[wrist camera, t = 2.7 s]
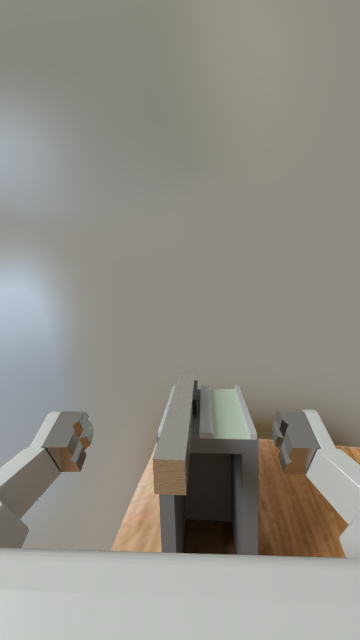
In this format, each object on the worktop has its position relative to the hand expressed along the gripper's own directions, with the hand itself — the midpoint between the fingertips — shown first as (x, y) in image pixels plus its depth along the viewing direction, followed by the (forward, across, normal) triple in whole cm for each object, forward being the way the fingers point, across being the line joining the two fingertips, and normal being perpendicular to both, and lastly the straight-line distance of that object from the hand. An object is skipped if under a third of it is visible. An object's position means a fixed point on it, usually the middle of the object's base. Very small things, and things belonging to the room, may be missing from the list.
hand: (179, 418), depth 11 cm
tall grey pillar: (+7, +2, -47) cm, 48 cm away
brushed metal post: (+14, -2, -22) cm, 26 cm away
